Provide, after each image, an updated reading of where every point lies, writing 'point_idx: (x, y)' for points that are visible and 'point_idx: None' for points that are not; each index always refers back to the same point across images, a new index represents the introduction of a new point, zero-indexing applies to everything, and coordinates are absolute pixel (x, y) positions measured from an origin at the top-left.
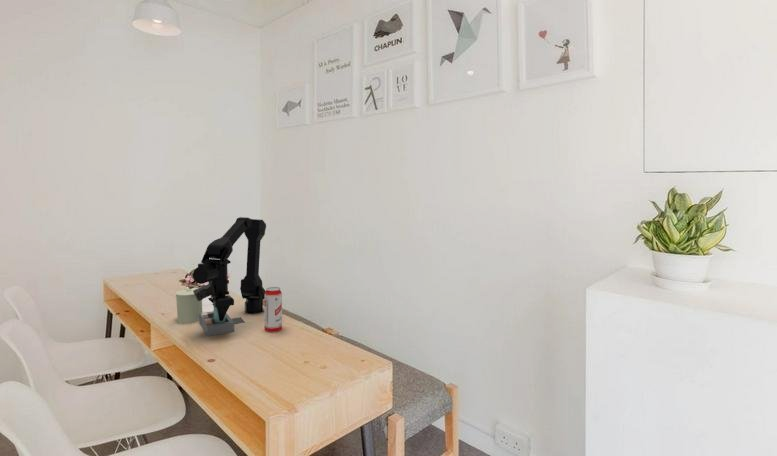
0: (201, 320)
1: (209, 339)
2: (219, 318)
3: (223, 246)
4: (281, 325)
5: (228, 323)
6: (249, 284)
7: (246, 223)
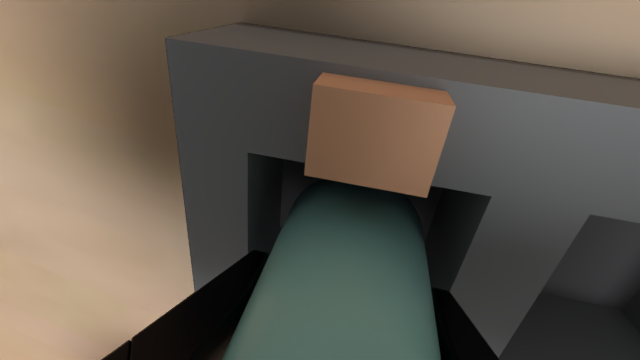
0: None
1: (182, 23)
2: (222, 272)
3: None
4: None
5: (195, 281)
6: None
7: None
